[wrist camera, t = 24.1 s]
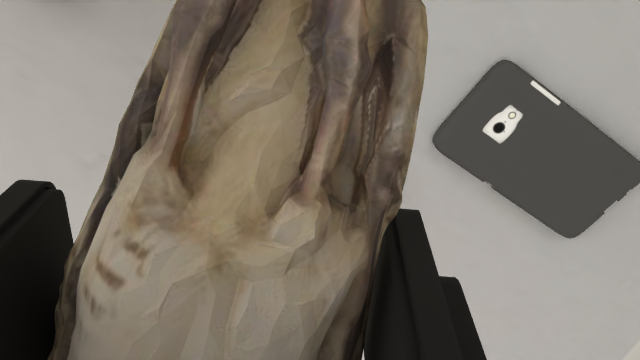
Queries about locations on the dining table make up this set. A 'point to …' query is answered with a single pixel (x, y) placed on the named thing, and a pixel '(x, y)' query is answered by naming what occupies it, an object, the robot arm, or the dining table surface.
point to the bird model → (249, 185)
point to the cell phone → (537, 151)
